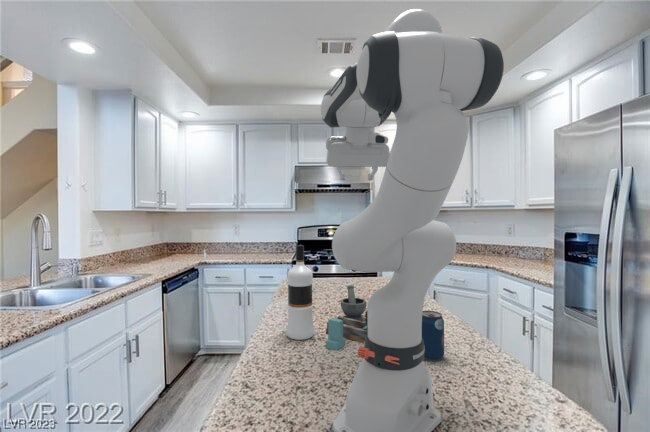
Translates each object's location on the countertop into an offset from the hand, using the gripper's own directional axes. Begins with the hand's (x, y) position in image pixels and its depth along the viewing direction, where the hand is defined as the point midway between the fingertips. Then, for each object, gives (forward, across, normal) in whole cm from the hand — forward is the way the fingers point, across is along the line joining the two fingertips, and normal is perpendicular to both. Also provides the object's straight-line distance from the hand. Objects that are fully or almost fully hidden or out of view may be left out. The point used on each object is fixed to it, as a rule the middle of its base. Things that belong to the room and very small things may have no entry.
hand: (356, 180), depth 102 cm
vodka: (+50, -19, -14) cm, 55 cm away
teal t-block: (+46, -8, -23) cm, 52 cm away
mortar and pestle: (+54, +2, 0) cm, 54 cm away
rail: (+49, 0, -16) cm, 51 cm away
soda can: (+44, +17, -33) cm, 57 cm away
